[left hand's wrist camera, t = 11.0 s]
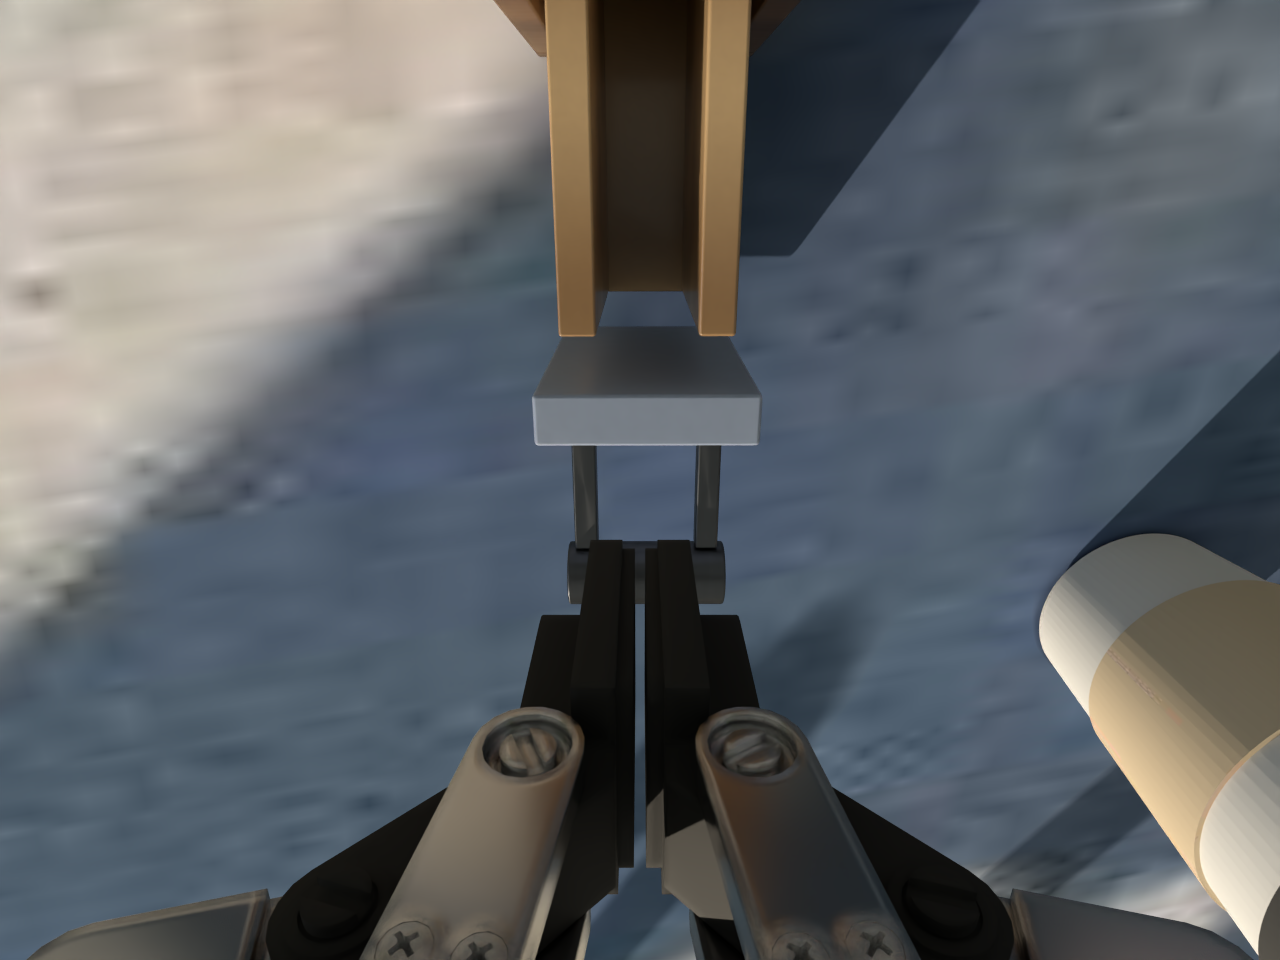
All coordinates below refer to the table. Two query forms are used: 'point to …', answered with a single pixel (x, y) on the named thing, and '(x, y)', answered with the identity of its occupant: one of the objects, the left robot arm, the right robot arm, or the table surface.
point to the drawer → (647, 248)
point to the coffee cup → (1185, 704)
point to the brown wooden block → (528, 16)
